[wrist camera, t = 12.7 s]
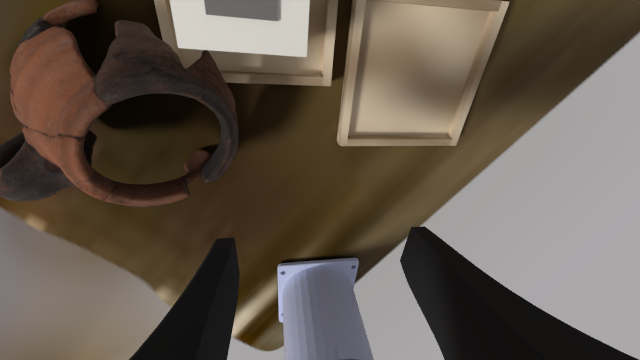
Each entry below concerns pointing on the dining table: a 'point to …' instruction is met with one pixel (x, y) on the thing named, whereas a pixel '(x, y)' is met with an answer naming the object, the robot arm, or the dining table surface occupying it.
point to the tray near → (263, 65)
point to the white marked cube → (243, 25)
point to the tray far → (414, 69)
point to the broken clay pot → (100, 109)
